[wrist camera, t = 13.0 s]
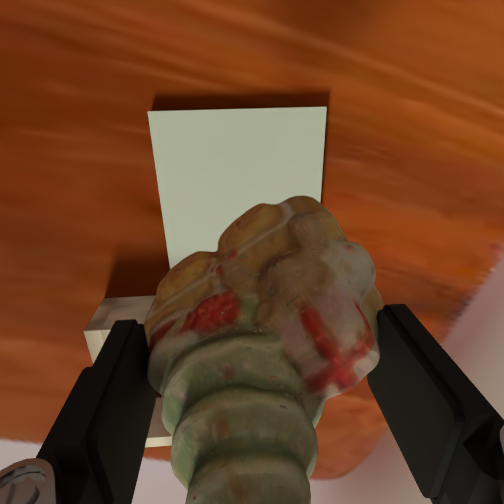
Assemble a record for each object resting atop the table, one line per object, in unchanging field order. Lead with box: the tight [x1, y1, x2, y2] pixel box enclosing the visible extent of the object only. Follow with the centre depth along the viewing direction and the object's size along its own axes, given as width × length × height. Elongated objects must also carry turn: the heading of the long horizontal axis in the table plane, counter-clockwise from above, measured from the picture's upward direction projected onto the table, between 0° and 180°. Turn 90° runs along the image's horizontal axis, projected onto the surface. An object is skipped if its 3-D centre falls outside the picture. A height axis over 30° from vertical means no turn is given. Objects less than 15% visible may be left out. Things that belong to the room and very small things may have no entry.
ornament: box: [143, 195, 384, 504], centre depth 9 cm, size 8×6×10 cm
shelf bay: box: [84, 295, 173, 447], centre depth 30 cm, size 12×13×4 cm
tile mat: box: [148, 106, 327, 269], centre depth 25 cm, size 12×13×1 cm
